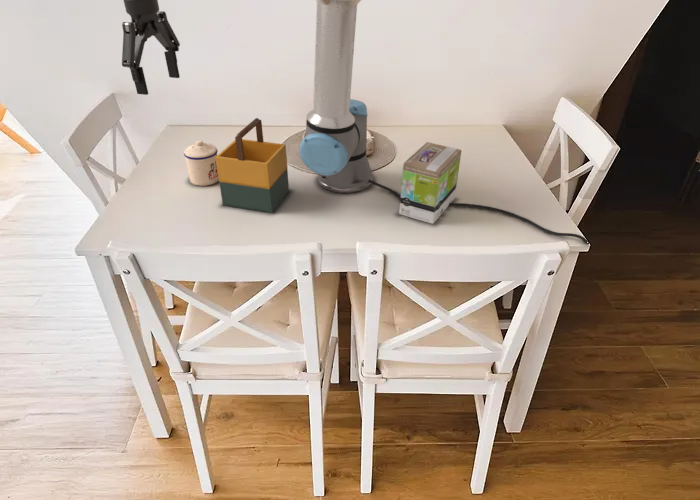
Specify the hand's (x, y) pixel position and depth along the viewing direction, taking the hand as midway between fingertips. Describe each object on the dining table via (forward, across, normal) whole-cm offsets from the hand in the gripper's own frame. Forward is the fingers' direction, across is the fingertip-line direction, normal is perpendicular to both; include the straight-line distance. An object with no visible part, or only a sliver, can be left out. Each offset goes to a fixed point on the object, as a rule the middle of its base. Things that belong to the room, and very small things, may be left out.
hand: (159, 85), depth 137 cm
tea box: (+29, -8, +70) cm, 76 cm away
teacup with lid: (+28, -5, +6) cm, 29 cm away
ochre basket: (+21, +2, +25) cm, 33 cm away
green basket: (+28, +2, +25) cm, 37 cm away
